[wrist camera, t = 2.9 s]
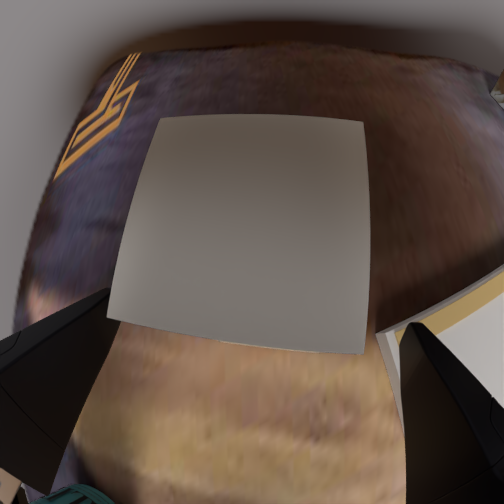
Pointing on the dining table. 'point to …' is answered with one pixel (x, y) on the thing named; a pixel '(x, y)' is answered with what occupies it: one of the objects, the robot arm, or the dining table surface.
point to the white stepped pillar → (250, 233)
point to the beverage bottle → (75, 496)
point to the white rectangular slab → (460, 334)
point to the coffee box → (499, 90)
